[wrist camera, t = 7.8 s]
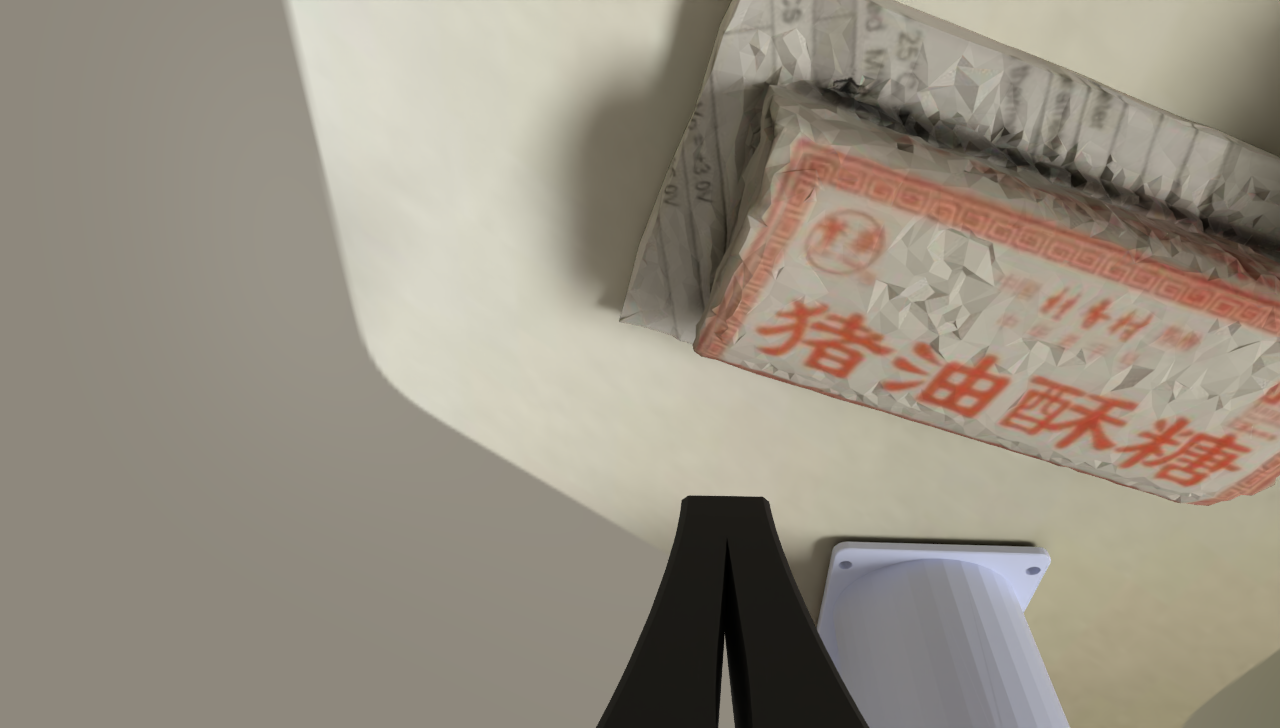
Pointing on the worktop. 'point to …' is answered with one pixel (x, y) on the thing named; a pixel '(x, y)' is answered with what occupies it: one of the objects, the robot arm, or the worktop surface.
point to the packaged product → (974, 247)
